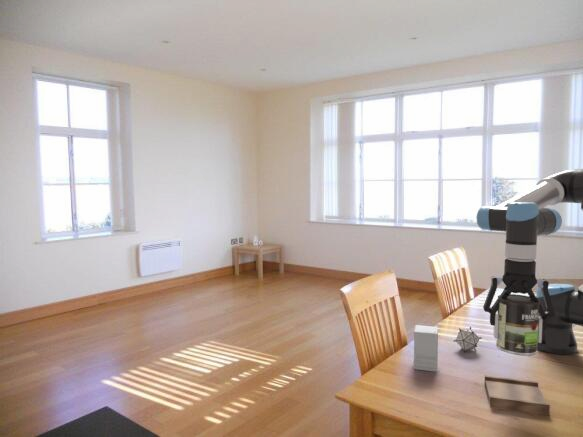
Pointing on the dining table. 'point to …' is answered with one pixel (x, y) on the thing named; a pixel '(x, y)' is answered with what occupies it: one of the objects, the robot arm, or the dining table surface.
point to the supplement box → (425, 348)
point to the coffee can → (518, 325)
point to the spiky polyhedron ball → (467, 339)
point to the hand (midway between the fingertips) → (516, 338)
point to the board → (515, 395)
